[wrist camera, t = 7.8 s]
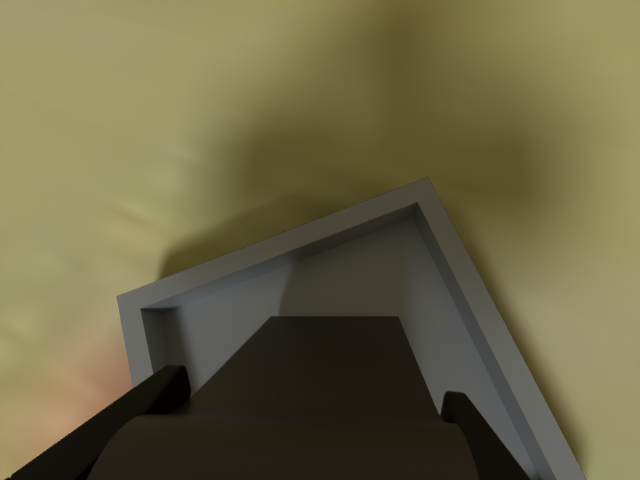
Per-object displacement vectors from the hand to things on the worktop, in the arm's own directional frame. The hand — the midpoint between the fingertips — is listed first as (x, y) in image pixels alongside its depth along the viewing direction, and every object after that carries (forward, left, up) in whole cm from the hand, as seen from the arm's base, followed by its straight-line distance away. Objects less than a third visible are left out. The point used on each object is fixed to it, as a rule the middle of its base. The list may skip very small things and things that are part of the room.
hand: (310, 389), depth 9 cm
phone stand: (-2, +1, -9) cm, 9 cm away
